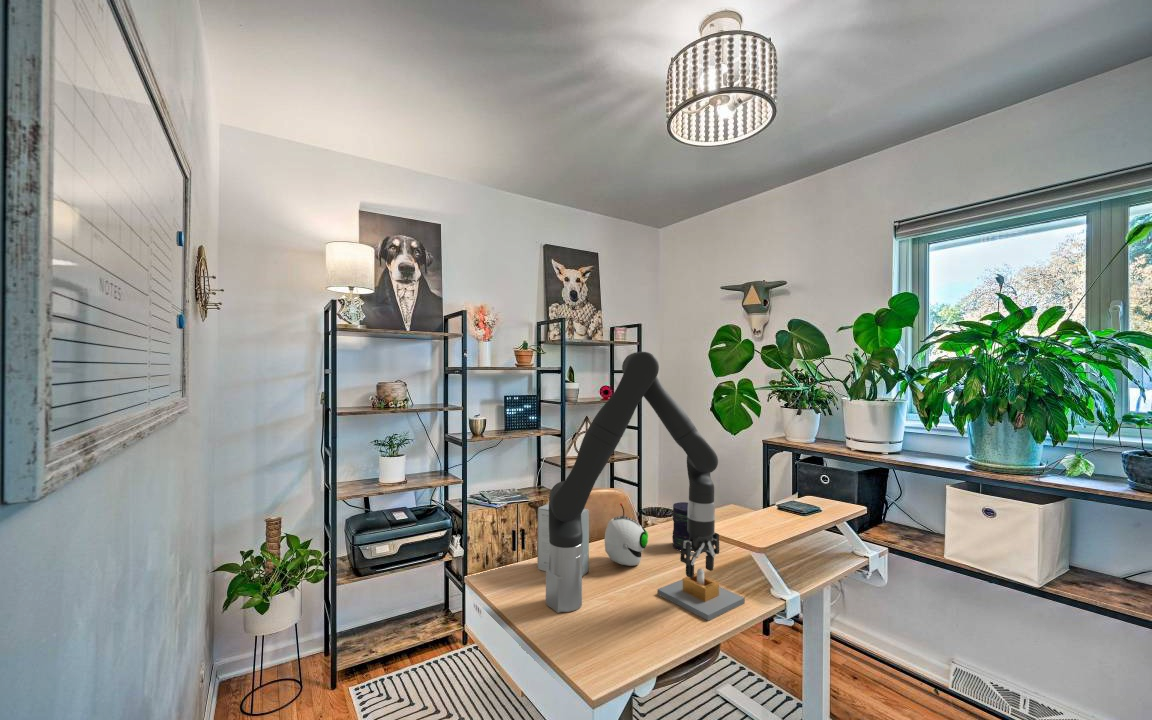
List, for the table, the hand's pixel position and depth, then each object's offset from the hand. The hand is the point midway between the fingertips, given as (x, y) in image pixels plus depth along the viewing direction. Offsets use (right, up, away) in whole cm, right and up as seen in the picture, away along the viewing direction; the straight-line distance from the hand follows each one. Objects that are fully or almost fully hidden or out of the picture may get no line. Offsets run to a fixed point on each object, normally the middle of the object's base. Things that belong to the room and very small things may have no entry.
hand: (699, 573), depth 139 cm
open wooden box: (0, -6, 0) cm, 6 cm away
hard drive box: (-40, -7, +18) cm, 44 cm away
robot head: (-19, -7, +23) cm, 31 cm away
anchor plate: (0, -7, 0) cm, 7 cm away
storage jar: (+5, -8, +39) cm, 40 cm away
